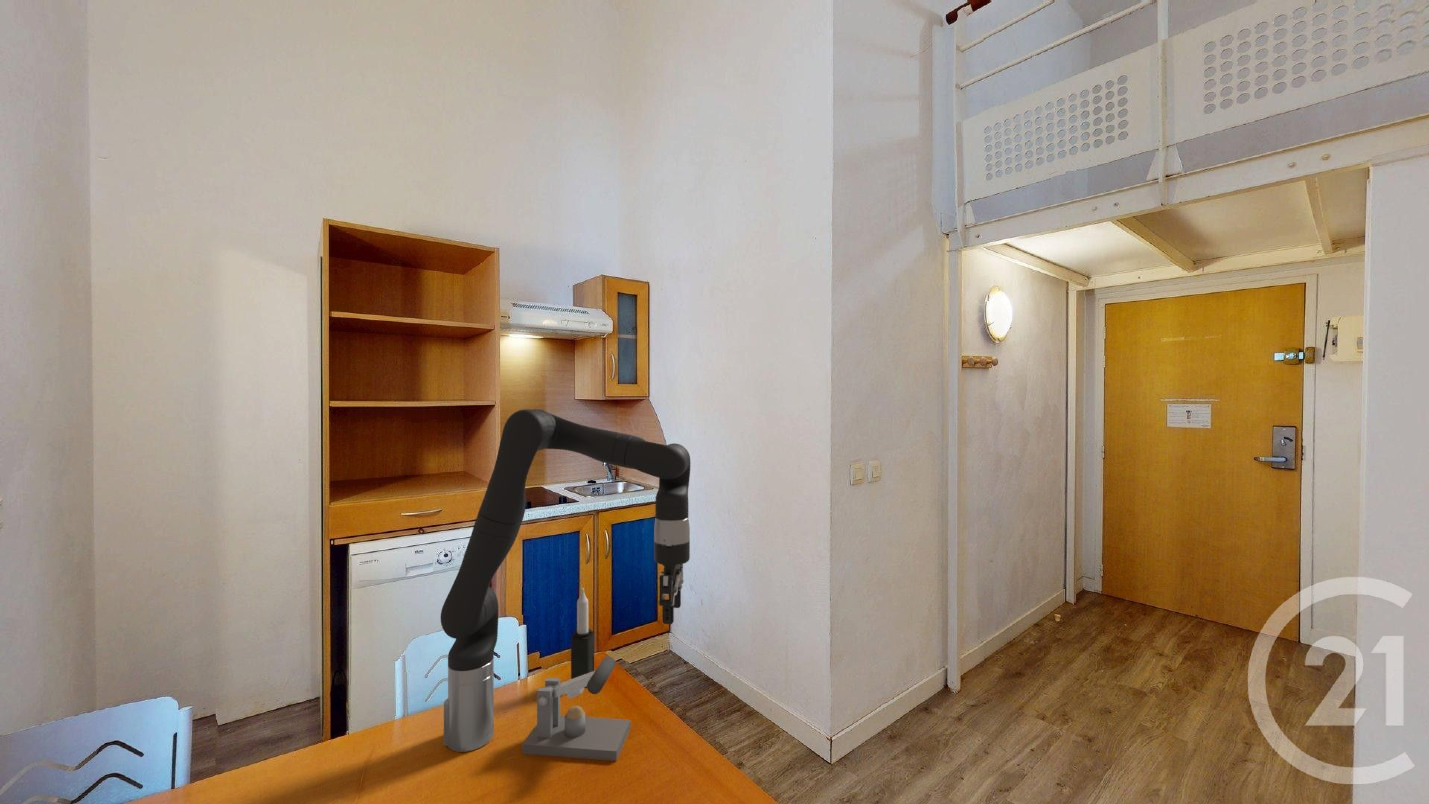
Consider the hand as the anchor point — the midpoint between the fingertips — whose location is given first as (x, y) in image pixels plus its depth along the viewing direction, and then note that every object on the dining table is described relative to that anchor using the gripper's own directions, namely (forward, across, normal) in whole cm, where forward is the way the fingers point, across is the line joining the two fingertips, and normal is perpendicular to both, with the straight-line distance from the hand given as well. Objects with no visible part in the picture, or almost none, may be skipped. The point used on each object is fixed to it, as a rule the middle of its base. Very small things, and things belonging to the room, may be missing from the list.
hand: (671, 615), depth 114 cm
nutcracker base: (+29, -2, -21) cm, 36 cm away
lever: (+19, -2, -21) cm, 28 cm away
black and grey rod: (+30, -26, -29) cm, 49 cm away
